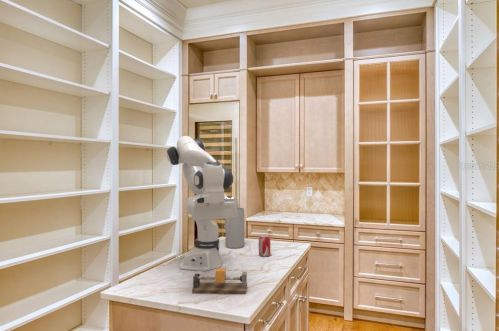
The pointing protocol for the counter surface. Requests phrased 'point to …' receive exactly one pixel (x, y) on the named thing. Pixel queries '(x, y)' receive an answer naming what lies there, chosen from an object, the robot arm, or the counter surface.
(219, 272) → the notched orange cube
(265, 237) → the soda can
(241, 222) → the cylinder vase
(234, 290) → the cord board
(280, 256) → the counter surface
